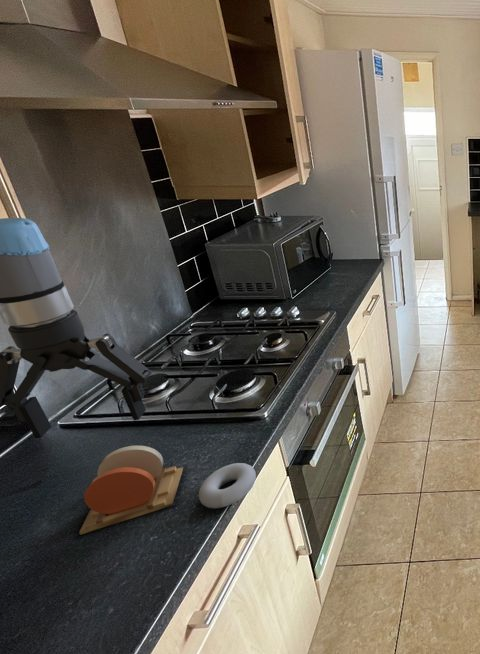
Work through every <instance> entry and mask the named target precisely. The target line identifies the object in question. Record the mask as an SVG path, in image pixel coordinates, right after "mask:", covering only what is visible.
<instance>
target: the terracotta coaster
mask: <svg viewBox="0 0 480 654" xmlns="http://www.w3.org/2000/svg"><path fill="white" fill-rule="evenodd" d="M154 488H155V480H154V478H153V476H152V475H151V474H150V473H148V472H147V471H145V470H143V469H139V468H133V467H123V468H116V469H112V470H109V471H107V472H104V473H102V474H100V475H99V476H98V475H97V476H96V477H95V478H94V479H92V480H91V482H90V483H89V484H88V486H87V488H86V490H85V492H84V495H83V497H84V498H83V499H84V502H85V504H86V506H87V507H88V509H90V510H91V509H92V510H94V511H96V512H99V513H103V514H116V513H120V512H123V511H126V510H129V509H132V508H136V507H139V506H142V505H143V504H145V503H146V502H147V501H148V500H149V499H150V497H151V496H152V494H153V491H154Z"/></svg>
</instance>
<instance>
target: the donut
mask: <svg viewBox="0 0 480 654" xmlns="http://www.w3.org/2000/svg"><path fill="white" fill-rule="evenodd" d="M256 475H257V473H256V470H255V469H254V467H253V466H252V465H250V464H248V463H246V462H235V463H230V464H227V465H224V466H222V467H220V468H218V469H216V470H215V471H214V472H212V473H211V474H210V475H208V476H207V478H206V479H205V480H204V481H203V482H202V484H201V485H200V488H199V489H198V500H199V502H200V504H201V505H202V506H204V507H206V508H208V509H222V508H226V507H228V506H231V505H234V504H235V503H237V502H238V501H240V500H241V499H243V498H244V497H245V496H247V494H248V493H250V491H251V490H252V489H253V487H254V486H255V482H256V480H257V476H256ZM232 481H235V482H234V483H233V484H232V485H230V486H228V487H225V488H221V487H222V486H224V485H225V484H227V483H230V482H232Z"/></svg>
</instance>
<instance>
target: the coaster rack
mask: <svg viewBox="0 0 480 654" xmlns="http://www.w3.org/2000/svg"><path fill="white" fill-rule="evenodd" d="M183 469H184V467H183V466H182V467H177V466H176V465H174V466H170V467H162V470H161V472H160V474H159V475H158V477H157V478H156V479H155V488H154V491H153V494H152V496H151V497H150V499H149V500H148V501H147V502H146V503H145V504H143V505H142V506H139V507H136V508H132V509H129V510H126V511H123V512H120V513H116V514H103V513H99V512H96V511H94V510H92V509H90V510H89V512H88V514H87V515H86V518H85V520H84V521H83V524H82V526H81V528H80V530H79V532H78V534H79V535H80V536H81V535H84V534H87V533H91V532H94V531H97V530H100V529H102V528H107V527H109V526H113V525H116V524H118V523H121V522H126V521H128V520H131V519H134V518H137V517H140V516H143V515H146V514H151V513H153V512H157V511H159V510H162V509H166V508H168V507H173V505H174V501H175V498H176V494H177V491H178V487H179V484H180V481H181V477H182V474H183V471H184V470H183Z"/></svg>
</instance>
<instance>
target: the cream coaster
mask: <svg viewBox="0 0 480 654" xmlns="http://www.w3.org/2000/svg"><path fill="white" fill-rule="evenodd" d="M162 455H163V454H161V453H160V452H159V451H158V450H156V449H155V448H153V447H150V446H146V445H128V446H124V447H120V448H118V449H116V450H113V451H112V452H110V453H109V454H107V455H106V456H105V457H104V458H103V459H102V461H101V462H100V464H99V466H98V468H97V472H96V473H97V476H99V475H100V474H102V473H104V472H107V471H109V470H112V469H116V468H123V467H133V468H139V469H143V470H145V471H147V472H148V473H150V474H151V475H152V476H153V478H154V480H155V479H156V478H157V477H158V475H159V474H160V472H161V470H162V468H164V457H163V456H162Z"/></svg>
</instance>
